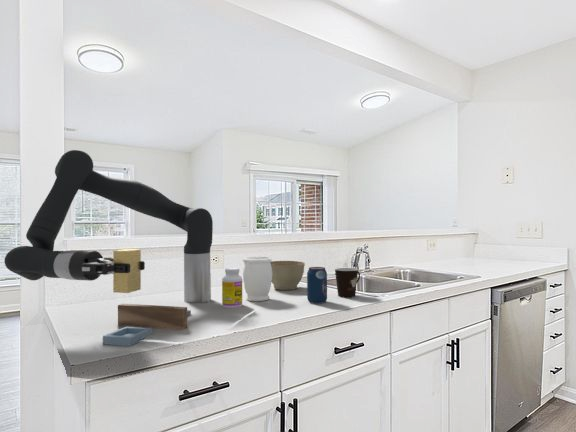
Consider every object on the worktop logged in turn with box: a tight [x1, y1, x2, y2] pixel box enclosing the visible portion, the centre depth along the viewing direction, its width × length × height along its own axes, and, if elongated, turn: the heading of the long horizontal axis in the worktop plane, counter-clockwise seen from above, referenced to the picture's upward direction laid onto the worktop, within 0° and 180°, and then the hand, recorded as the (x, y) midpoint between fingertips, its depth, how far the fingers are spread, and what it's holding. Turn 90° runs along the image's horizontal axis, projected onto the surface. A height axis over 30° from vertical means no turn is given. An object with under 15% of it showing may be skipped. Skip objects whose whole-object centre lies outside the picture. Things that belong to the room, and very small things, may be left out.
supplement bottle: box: [221, 267, 243, 309], centre depth 132 cm, size 7×7×13 cm
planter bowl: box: [270, 260, 306, 291], centre depth 167 cm, size 16×16×11 cm
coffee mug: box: [334, 267, 361, 299], centre depth 150 cm, size 12×9×10 cm
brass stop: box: [112, 248, 142, 294], centre depth 98 cm, size 5×4×10 cm
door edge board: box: [117, 303, 188, 331], centre depth 107 cm, size 2×20×6 cm, turn 75°
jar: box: [242, 256, 273, 302], centre depth 145 cm, size 11×10×15 cm
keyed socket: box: [102, 326, 153, 347], centre depth 98 cm, size 8×8×2 cm
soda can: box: [306, 266, 328, 305], centre depth 139 cm, size 7×7×12 cm
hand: (136, 267), depth 97 cm, fingers closed on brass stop, 5 cm apart
